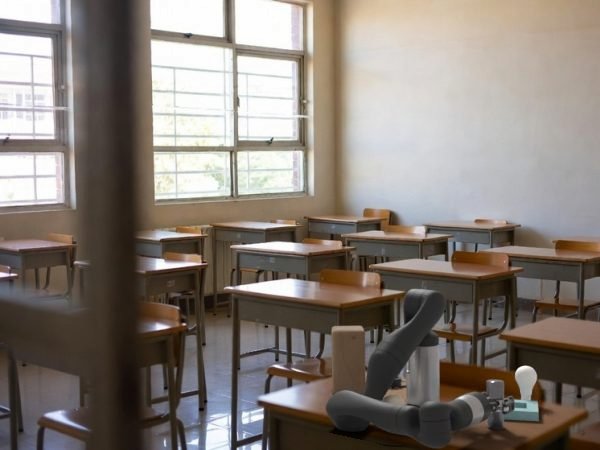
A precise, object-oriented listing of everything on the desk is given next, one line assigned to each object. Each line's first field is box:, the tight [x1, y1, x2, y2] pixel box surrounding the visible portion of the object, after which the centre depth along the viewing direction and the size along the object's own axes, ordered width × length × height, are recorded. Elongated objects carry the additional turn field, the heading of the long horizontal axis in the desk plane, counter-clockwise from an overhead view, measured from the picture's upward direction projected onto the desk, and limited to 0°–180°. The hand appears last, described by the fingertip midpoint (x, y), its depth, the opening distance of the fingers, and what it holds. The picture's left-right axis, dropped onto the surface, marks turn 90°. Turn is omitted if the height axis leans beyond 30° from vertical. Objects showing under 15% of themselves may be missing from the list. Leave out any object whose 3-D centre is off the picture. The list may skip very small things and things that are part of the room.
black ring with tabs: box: [390, 375, 406, 389], centre depth 254 cm, size 8×10×3 cm
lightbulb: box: [514, 365, 538, 401], centre depth 230 cm, size 6×6×11 cm
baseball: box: [382, 394, 407, 405], centre depth 216 cm, size 7×7×7 cm
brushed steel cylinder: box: [486, 379, 505, 430], centre depth 207 cm, size 4×4×12 cm
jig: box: [504, 399, 540, 422], centre depth 219 cm, size 12×12×2 cm
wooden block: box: [331, 325, 366, 395], centre depth 247 cm, size 10×10×20 cm
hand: (499, 397), depth 209 cm, fingers open, 7 cm apart
